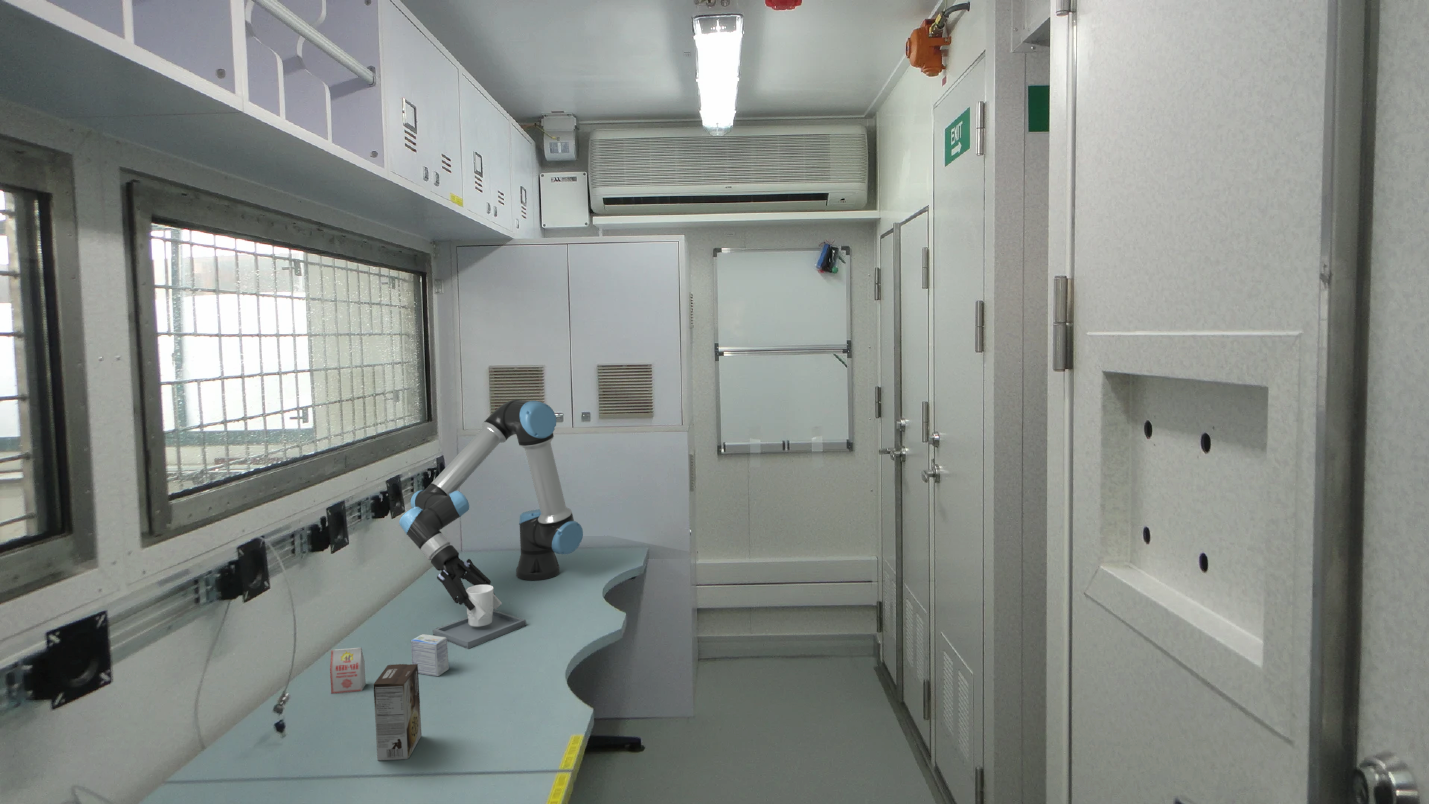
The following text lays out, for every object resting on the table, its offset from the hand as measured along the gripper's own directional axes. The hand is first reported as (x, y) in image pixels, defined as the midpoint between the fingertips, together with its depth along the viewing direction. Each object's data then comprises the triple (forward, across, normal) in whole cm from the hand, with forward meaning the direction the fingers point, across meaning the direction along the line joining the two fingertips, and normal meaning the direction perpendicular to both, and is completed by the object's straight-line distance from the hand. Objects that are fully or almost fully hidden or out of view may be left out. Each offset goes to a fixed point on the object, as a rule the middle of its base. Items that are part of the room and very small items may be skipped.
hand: (490, 611), depth 218 cm
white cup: (0, 0, -5) cm, 5 cm away
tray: (+2, +1, -6) cm, 6 cm away
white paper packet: (-5, +41, -13) cm, 44 cm away
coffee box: (+17, +60, +9) cm, 63 cm away
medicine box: (+5, +28, -4) cm, 28 cm away
